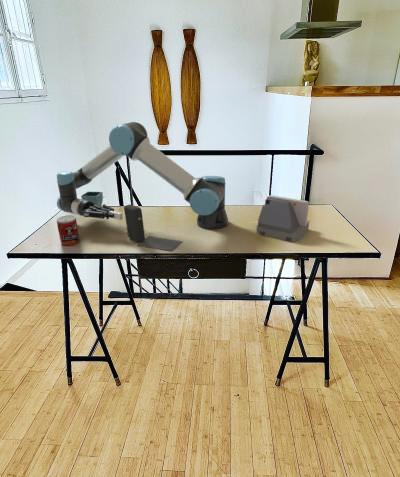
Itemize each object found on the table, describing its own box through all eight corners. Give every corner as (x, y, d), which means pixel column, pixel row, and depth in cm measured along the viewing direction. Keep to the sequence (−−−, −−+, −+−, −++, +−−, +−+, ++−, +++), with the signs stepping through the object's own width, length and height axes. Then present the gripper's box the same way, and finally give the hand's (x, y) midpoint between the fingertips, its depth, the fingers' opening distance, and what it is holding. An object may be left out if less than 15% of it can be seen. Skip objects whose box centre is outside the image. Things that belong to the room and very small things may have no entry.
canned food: (62, 247, 144) (57, 223, 139) (59, 240, 150) (55, 217, 146) (81, 244, 147) (77, 219, 143) (77, 237, 154) (74, 214, 149)
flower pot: (89, 206, 193) (87, 191, 190) (104, 207, 192) (103, 191, 189) (82, 211, 185) (80, 195, 182) (98, 212, 184) (96, 196, 181)
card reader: (147, 240, 148) (142, 207, 142) (138, 243, 146) (134, 209, 140) (135, 235, 154) (131, 203, 149) (127, 238, 152) (122, 205, 146)
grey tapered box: (314, 231, 158) (318, 199, 152) (291, 245, 144) (294, 211, 138) (274, 220, 171) (277, 191, 165) (249, 232, 157) (251, 200, 151)
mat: (181, 241, 148) (181, 241, 148) (171, 251, 139) (171, 250, 139) (149, 236, 153) (148, 235, 153) (137, 245, 145) (137, 244, 145)
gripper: (95, 211, 168) (132, 220, 156) (73, 219, 158) (111, 229, 146) (93, 196, 165) (130, 204, 153) (71, 204, 155) (109, 212, 143)
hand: (121, 216), depth 150 cm, fingers closed
